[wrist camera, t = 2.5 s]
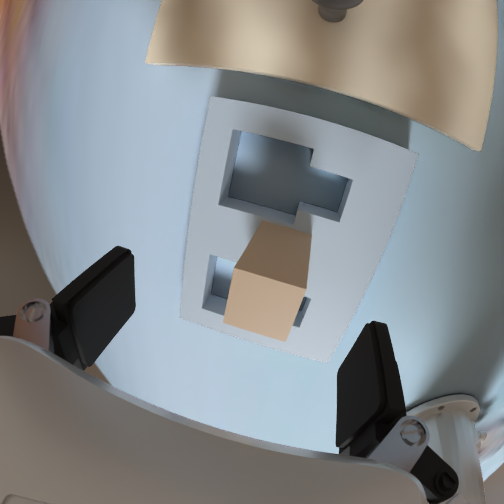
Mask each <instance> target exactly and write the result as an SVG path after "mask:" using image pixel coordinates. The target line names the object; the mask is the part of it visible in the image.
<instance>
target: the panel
mask: <svg viewBox="0 0 504 504" xmlns="http://www.w3.org/2000/svg"><path fill="white" fill-rule="evenodd" d="M241 131H244V132H248V133H253V134H258V135H262V136H266V137H270V138H275V139H279V140H283V141H287V142H291V143H294V144H298V145H302V146H305V147H309V148H312V149H314V151H313V155H312V159H311V162H310V167H314V168H317V169H320V170H324V171H327V172H330V173H334V174H337V175H340V176H343V177H346V178H348V181H347V184H346V187H345V190H344V194H343V197H342V200H341V203H340V206H339V209H338V212H334V211H331V210H328V209H324V208H321V207H318V206H314V205H311V204H308V203H304V202H301V201H300V203H299V206H298V210H297V213H296V215H292V214H289V213H285V212H282V211H278V210H275V209H271V208H268V207H264V206H260V205H257V204H253V203H249V202H246V201H242V200H238V199H235V198H231V197H228V194H229V189H230V184H231V179H232V174H233V169H234V164H235V159H236V154H237V150H238V145H239V140H240V135H241ZM418 155H419V154H417V153H415V152H413V151H410V150H408V149H406V148H403V147H401V146H398V145H396V144H393V143H391V142H388V141H385V140H383V139H380V138H377V137H375V136H372V135H369V134H366V133H363V132H360V131H357V130H354V129H351V128H348V127H345V126H342V125H339V124H335V123H332V122H329V121H325V120H322V119H318V118H315V117H311V116H307V115H303V114H300V113H296V112H292V111H287V110H283V109H279V108H274V107H270V106H265V105H260V104H255V103H250V102H244V101H238V100H233V99H226V98H220V97H213V96H210V101H209V106H208V110H207V115H206V121H205V126H204V131H203V136H202V142H201V148H200V153H199V159H198V165H197V171H196V178H195V184H194V191H193V197H192V204H191V212H190V219H189V227H188V235H187V243H186V252H185V261H184V271H183V281H182V292H181V303H180V316H179V318H182V319H184V320H187V321H190V322H193V323H195V324H198V325H201V326H204V327H207V328H210V329H212V330H215V331H218V332H221V333H224V334H227V335H230V336H233V337H236V338H240V339H243V340H246V341H249V342H252V343H256V344H259V345H262V346H266V347H269V348H272V349H276V350H279V351H283V352H286V353H290V354H294V355H297V356H301V357H305V358H309V359H312V360H316V361H320V362H324V363H328V362H329V360H330V359H331V357H332V355H333V353H334V352H335V350H336V348H337V346H338V344H339V343H340V341H341V339H342V337H343V335H344V334H345V332H346V330H347V328H348V326H349V324H350V322H351V320H352V318H353V316H354V314H355V312H356V311H357V309H358V307H359V305H360V302H361V300H362V298H363V296H364V294H365V292H366V290H367V288H368V286H369V284H370V282H371V279H372V277H373V275H374V273H375V271H376V268H377V266H378V264H379V262H380V259H381V257H382V255H383V252H384V250H385V248H386V245H387V243H388V240H389V238H390V235H391V233H392V230H393V228H394V225H395V223H396V220H397V217H398V215H399V212H400V209H401V206H402V204H403V201H404V198H405V195H406V192H407V189H408V186H409V183H410V180H411V177H412V174H413V171H414V168H415V165H416V161H417V158H418ZM217 256H218V257H221V258H224V259H228V260H231V261H234V262H237V264H236V265H235V267H234V270H233V275H232V280H231V285H230V290H229V294H228V299H225V298H222V297H218V296H215V295H212V294H211V289H212V283H213V277H214V271H215V266H216V260H217ZM303 297H307V299H306V302H305V304H304V307H303V309H302V311H300V310H299V307H300V305H301V302H302V300H303Z"/></svg>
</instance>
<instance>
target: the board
mask: <svg viewBox="0 0 504 504" xmlns="http://www.w3.org/2000/svg"><path fill="white" fill-rule="evenodd" d="M497 40H498V13H497V0H162V2H161V5H160V8H159V11H158V15H157V18H156V21H155V25H154V29H153V32H152V36H151V40H150V44H149V48H148V52H147V56H146V61H145V63H148V64H152V65H174V66H192V67H205V68H215V69H224V70H232V71H240V72H247V73H253V74H259V75H265V76H270V77H275V78H280V79H285V80H290V81H294V82H299V83H303V84H307V85H311V86H315V87H319V88H323V89H326V90H330V91H333V92H337V93H340V94H343V95H347V96H350V97H353V98H356V99H359V100H362V101H365V102H368V103H371V104H374V105H376V106H379V107H382V108H384V109H387V110H390V111H392V112H395V113H397V114H400V115H402V116H405V117H407V118H409V119H412V120H414V121H416V122H418V123H421V124H423V125H425V126H427V127H429V128H432V129H434V130H436V131H438V132H440V133H442V134H444V135H446V136H448V137H450V138H452V139H454V140H456V141H457V142H459V143H461V144H463V145H465V146H467V147H468V148H470V149H472V150H476V151H480V152H481V148H482V144H483V140H484V136H485V132H486V127H487V122H488V117H489V112H490V107H491V101H492V94H493V87H494V80H495V70H496V59H497Z"/></svg>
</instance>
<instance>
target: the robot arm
mask: <svg viewBox="0 0 504 504" xmlns="http://www.w3.org/2000/svg"><path fill="white" fill-rule="evenodd" d="M52 301H53V302H52V303H51V304H50V305H49V304H48V303H47V302H46V301H45V300H42V299H30V300H28V301H26V302H24V303H23V304H22V305H21V306H20V307H19V308H18V311H17V314H16V315H12V316H5V317H0V504H486V501H485V492H484V485H483V478H482V472H481V466H480V460H479V455H478V450H479V448H480V446H481V442H480V441H484V440H485V439H486V436H487V433H486V432H485V431H481V432H477V430H476V427H475V422H476V420H477V418H478V416H479V413H480V408H479V404H478V402H477V400H476V399H475V398H474V397H472V396H469V395H462V394H458V395H450V396H444V397H441V398H437V399H434V400H431V401H428V402H426V403H423V404H421V405H419V406H417V407H415V408H413V409H411V410H409V411H407V412H406V407H405V401H404V396H403V390H402V385H401V380H400V375H399V370H398V365H397V362H396V361H395V356H394V352H393V347H392V343H391V339H390V335H389V331H388V327H387V324H385V323H381V322H376V321H372V322H371V323H370V324H369V323H367V324H366V325H365V326H364V328H363V330H362V332H361V333H360V335H359V337H358V338H357V340H356V342H355V343H354V345H353V347H352V348H351V350H350V352H349V353H348V355H347V357H346V358H345V360H344V361H343V363H342V364H341V366H340V368H339V370H338V373H337V423H336V447H339V454H332V453H325V452H319V451H313V450H307V449H301V448H296V447H291V446H285V445H281V444H276V443H271V442H267V441H263V440H258V439H254V438H250V437H247V436H243V435H239V434H236V433H232V432H229V431H225V430H222V429H218V428H215V427H212V426H209V425H206V424H203V423H200V422H197V421H194V420H191V419H188V418H186V417H183V416H180V415H178V414H175V413H172V412H170V411H167V410H165V409H162V408H160V407H157V406H155V405H153V404H150V403H148V402H146V401H143V400H141V399H139V398H137V397H134V396H132V395H130V394H128V393H126V392H124V391H121V390H119V389H117V388H115V387H113V386H111V385H109V384H107V383H105V382H103V381H102V380H100V379H98V378H96V377H94V376H92V375H90V374H89V373H87V372H85V371H84V370H85V369H86V367H87V366H88V367H90V366H91V365H92V364H93V363H94V362H95V361H96V359H97V358H98V357H99V355H100V354H101V353H102V352H103V350H104V349H105V348H106V347H107V345H108V344H109V343H110V342H111V340H112V339H113V338H114V337H115V335H116V334H117V333H118V332H119V330H120V329H121V328H122V327H123V325H124V324H125V323H126V322H127V320H128V319H129V318H130V317H131V316H132V314H133V313H134V311H135V307H136V304H135V278H134V255H133V254H131V250H129V249H126V248H124V247H121V246H116V247H114V248H113V249H112V250H111V251H109V252H108V253H107V254H105V255H104V256H103V257H102V258H100V259H99V260H98V261H97V262H95V263H94V264H93V265H92V266H90V267H89V268H88V269H87V270H85V271H84V272H83V273H82V274H81V275H79V276H78V277H77V278H76V279H75V280H73V281H72V282H71V283H70V284H69V285H67V286H66V287H65V288H64V289H63V290H62V291H60V292H59V293H58V294H57V295H56V296H55V297H54V298H52Z"/></svg>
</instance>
